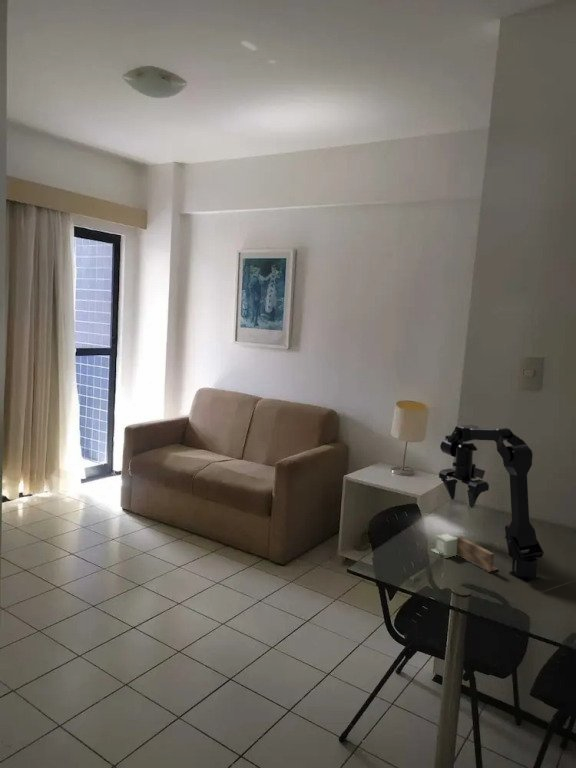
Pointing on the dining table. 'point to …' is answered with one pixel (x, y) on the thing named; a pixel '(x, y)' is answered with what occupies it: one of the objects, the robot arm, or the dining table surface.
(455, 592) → the dining table surface
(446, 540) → the sage block
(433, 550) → the sage pad
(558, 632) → the dining table surface
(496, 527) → the dining table surface
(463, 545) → the walnut screen
